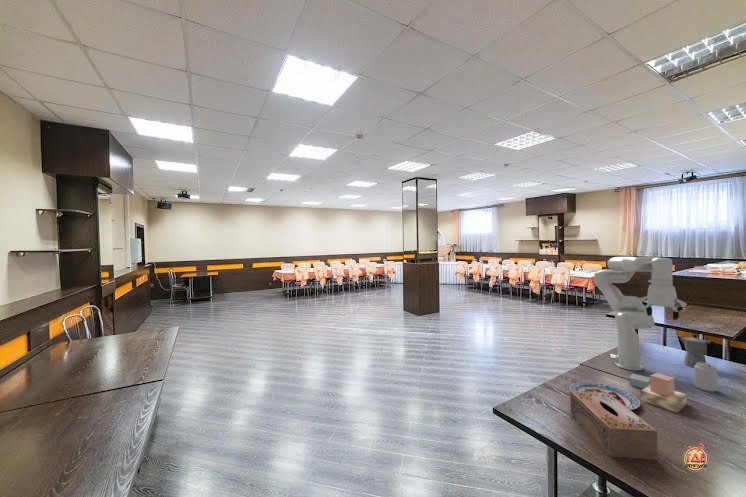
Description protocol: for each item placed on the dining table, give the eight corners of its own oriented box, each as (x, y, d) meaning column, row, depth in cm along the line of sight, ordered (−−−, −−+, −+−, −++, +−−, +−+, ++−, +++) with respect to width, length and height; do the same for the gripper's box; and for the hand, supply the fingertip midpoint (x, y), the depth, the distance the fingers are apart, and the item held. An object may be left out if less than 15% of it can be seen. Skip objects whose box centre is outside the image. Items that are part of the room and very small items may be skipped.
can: (722, 393, 141) (722, 367, 141) (703, 392, 143) (703, 366, 143) (708, 385, 149) (708, 361, 149) (690, 384, 150) (690, 360, 150)
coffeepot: (677, 364, 175) (677, 333, 174) (680, 360, 180) (680, 330, 180) (717, 373, 162) (717, 339, 162) (719, 368, 168) (719, 336, 168)
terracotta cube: (650, 390, 136) (650, 375, 136) (657, 388, 139) (657, 372, 139) (667, 396, 131) (667, 380, 131) (674, 393, 133) (674, 378, 133)
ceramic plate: (641, 397, 139) (641, 391, 139) (638, 422, 121) (638, 414, 121) (575, 381, 157) (575, 375, 157) (564, 400, 139) (564, 393, 139)
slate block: (629, 385, 151) (629, 377, 151) (632, 381, 156) (632, 373, 156) (648, 390, 146) (648, 382, 146) (650, 385, 151) (650, 377, 151)
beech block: (641, 401, 137) (640, 390, 137) (651, 394, 143) (651, 383, 143) (677, 413, 126) (677, 402, 126) (686, 405, 133) (686, 394, 133)
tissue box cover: (657, 460, 100) (657, 430, 100) (609, 457, 102) (609, 428, 102) (608, 416, 125) (608, 392, 125) (570, 414, 127) (570, 391, 127)
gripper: (636, 281, 155) (636, 314, 155) (682, 285, 139) (683, 322, 139) (643, 280, 158) (643, 313, 158) (689, 284, 143) (689, 320, 143)
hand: (662, 317), depth 149 cm, fingers open, 9 cm apart
